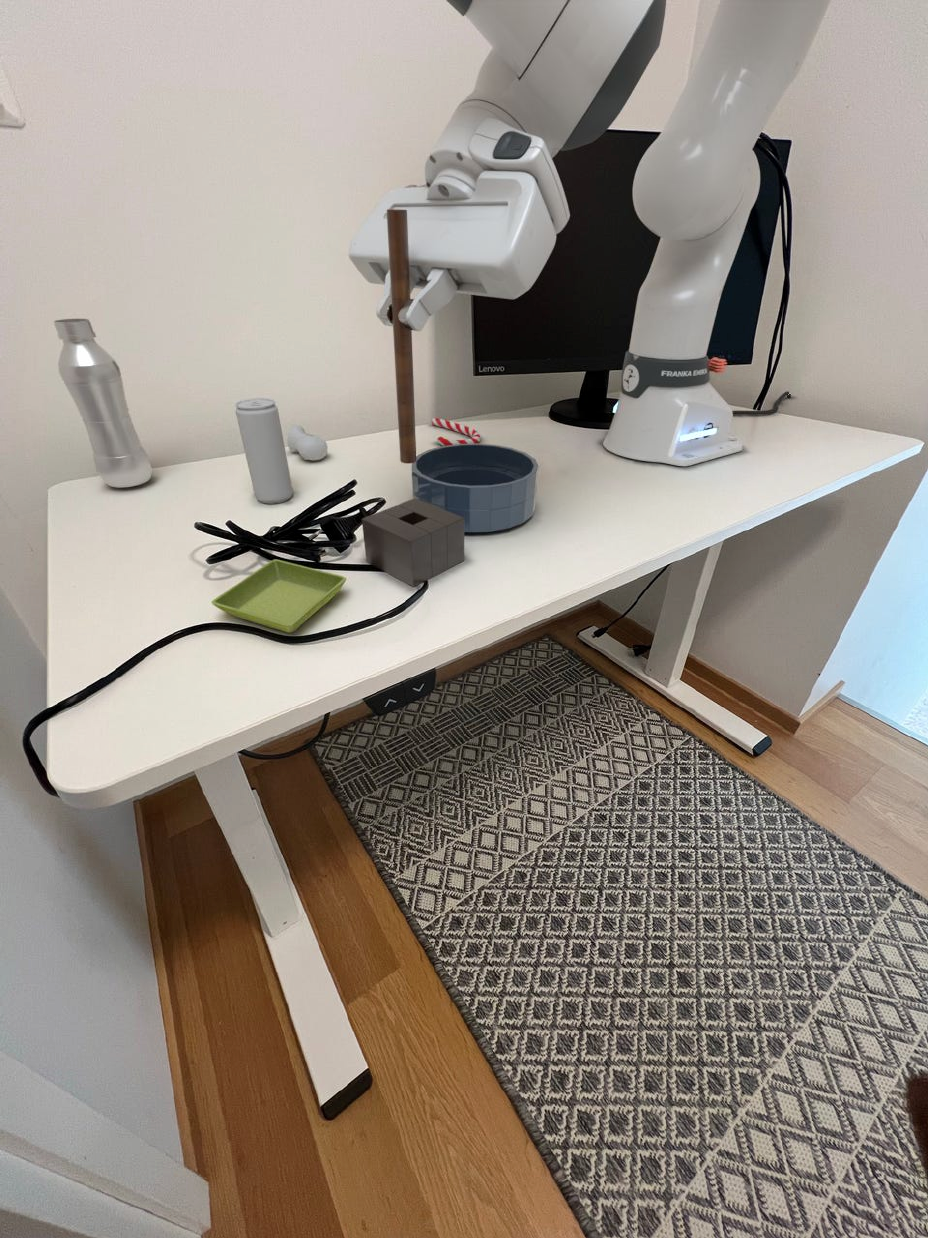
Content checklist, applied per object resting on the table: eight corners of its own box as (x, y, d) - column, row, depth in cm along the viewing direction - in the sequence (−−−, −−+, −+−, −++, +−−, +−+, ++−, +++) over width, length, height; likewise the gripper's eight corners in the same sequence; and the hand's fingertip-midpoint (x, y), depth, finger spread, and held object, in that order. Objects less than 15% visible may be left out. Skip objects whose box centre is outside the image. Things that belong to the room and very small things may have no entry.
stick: (413, 457, 55) (403, 209, 43) (418, 462, 54) (409, 209, 42) (398, 459, 54) (384, 209, 43) (402, 464, 53) (389, 208, 41)
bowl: (502, 480, 77) (504, 438, 73) (556, 524, 65) (561, 476, 62) (399, 496, 72) (396, 451, 69) (437, 546, 61) (436, 495, 57)
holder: (417, 538, 62) (415, 497, 59) (464, 560, 58) (464, 517, 55) (366, 561, 58) (361, 518, 55) (413, 587, 54) (411, 542, 51)
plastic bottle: (129, 473, 78) (72, 315, 67) (167, 479, 77) (116, 318, 65) (92, 489, 73) (23, 322, 62) (132, 496, 72) (69, 325, 60)
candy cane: (449, 414, 100) (490, 436, 89) (449, 421, 101) (490, 444, 90) (410, 420, 97) (448, 443, 86) (410, 427, 98) (448, 451, 87)
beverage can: (257, 507, 69) (235, 409, 62) (254, 493, 73) (232, 399, 66) (296, 501, 70) (278, 405, 63) (291, 488, 74) (273, 396, 67)
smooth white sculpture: (332, 468, 84) (300, 464, 81) (312, 452, 89) (281, 448, 86) (336, 440, 82) (304, 435, 79) (316, 426, 87) (285, 421, 84)
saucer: (350, 595, 52) (348, 576, 51) (294, 646, 46) (289, 626, 45) (278, 576, 55) (274, 558, 54) (214, 621, 49) (208, 602, 47)
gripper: (379, 155, 50) (303, 285, 50) (561, 137, 38) (462, 306, 38) (417, 217, 55) (348, 334, 55) (587, 217, 44) (500, 366, 44)
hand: (396, 323), depth 47 cm, fingers closed on stick, 1 cm apart
